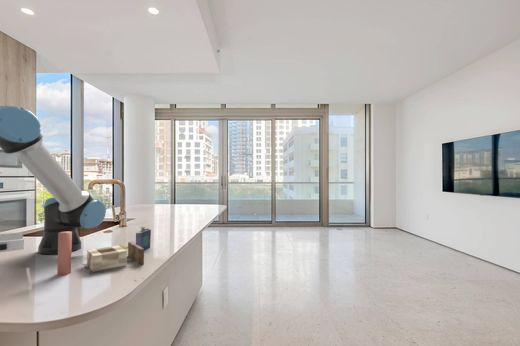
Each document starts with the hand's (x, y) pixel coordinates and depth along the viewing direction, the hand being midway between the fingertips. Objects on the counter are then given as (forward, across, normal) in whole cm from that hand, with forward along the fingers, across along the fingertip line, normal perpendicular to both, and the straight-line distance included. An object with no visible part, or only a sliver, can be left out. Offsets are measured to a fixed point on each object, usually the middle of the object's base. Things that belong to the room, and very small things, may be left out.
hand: (23, 240), depth 78 cm
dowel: (+10, 0, -13) cm, 16 cm away
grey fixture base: (+24, 0, -13) cm, 27 cm away
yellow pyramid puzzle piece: (+31, -23, -13) cm, 41 cm away
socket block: (+22, 0, -12) cm, 25 cm away
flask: (+39, -14, -13) cm, 43 cm away
